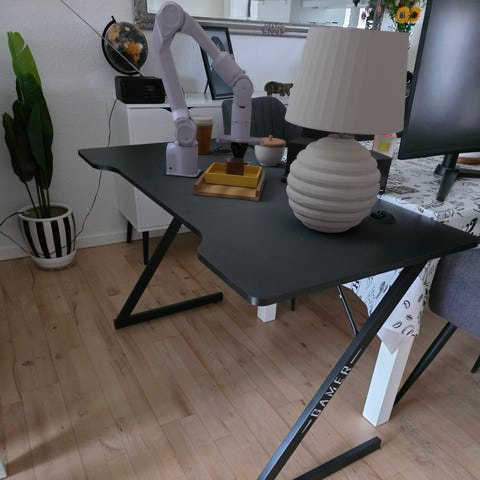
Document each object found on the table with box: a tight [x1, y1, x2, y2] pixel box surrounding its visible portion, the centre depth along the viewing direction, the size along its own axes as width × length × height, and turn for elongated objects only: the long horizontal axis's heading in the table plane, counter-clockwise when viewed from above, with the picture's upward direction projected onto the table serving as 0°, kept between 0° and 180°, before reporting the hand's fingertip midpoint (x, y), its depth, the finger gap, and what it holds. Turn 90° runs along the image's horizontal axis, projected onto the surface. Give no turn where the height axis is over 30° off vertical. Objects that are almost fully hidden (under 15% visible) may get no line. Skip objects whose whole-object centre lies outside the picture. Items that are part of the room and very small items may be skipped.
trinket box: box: [254, 134, 287, 167], centre depth 155 cm, size 11×11×9 cm
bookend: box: [280, 126, 346, 183], centre depth 139 cm, size 23×11×24 cm, turn 149°
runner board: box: [193, 165, 267, 202], centre depth 131 cm, size 18×22×3 cm
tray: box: [204, 160, 263, 188], centre depth 135 cm, size 15×18×3 cm
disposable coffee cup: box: [190, 114, 215, 155], centre depth 163 cm, size 10×10×12 cm
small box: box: [368, 149, 394, 195], centre depth 135 cm, size 11×6×10 cm, turn 23°
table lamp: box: [284, 26, 410, 234], centre depth 99 cm, size 25×25×40 cm
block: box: [225, 157, 246, 176], centre depth 132 cm, size 5×5×5 cm
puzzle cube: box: [371, 133, 398, 158], centre depth 178 cm, size 8×8×8 cm
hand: (238, 168), depth 141 cm, fingers closed
